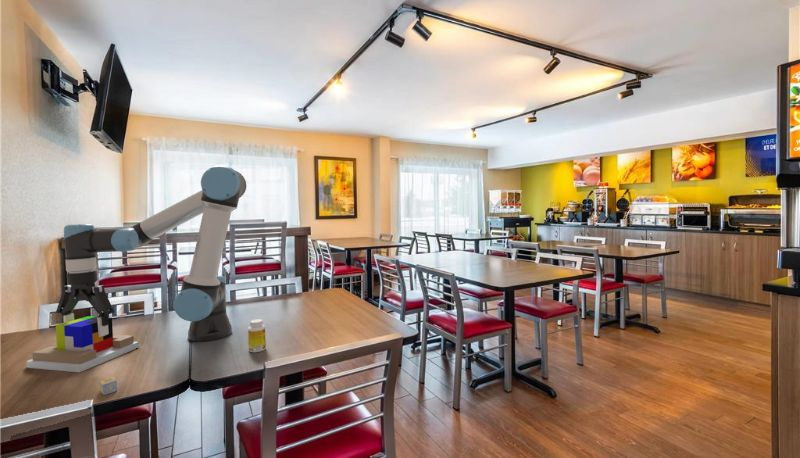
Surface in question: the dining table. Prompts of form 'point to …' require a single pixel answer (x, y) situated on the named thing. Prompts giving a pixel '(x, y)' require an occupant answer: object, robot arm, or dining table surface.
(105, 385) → the alphabet block
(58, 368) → the foundation plate
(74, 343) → the puzzle toy
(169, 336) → the dining table surface
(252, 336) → the supplement bottle
